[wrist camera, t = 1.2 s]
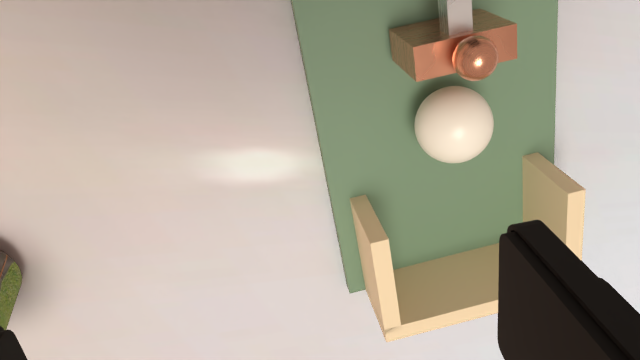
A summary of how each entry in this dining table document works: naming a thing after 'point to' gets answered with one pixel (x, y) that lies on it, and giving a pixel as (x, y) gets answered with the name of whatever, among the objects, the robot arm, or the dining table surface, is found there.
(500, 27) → the copper sphere contraption
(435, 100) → the ball
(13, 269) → the beverage can
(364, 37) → the pitch
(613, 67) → the dining table surface
